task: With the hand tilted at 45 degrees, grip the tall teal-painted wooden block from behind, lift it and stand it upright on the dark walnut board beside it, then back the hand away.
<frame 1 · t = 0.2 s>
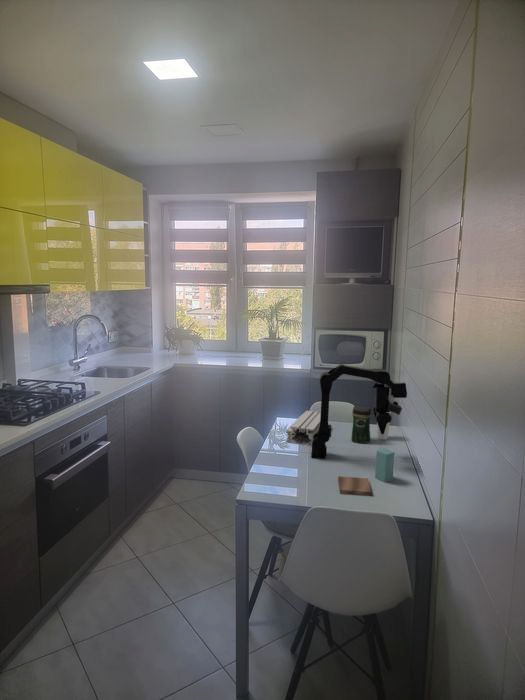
hand: (381, 430, 195), 14 cm above the table, tool pointing down, fingers open, 9 cm apart
walnut board: (354, 487, 170), on the table
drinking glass: (382, 438, 227), on the table
aluminum extrusion profile: (306, 435, 230), on the table
coffee jar: (360, 441, 222), on the table
teal block: (383, 478, 179), on the table
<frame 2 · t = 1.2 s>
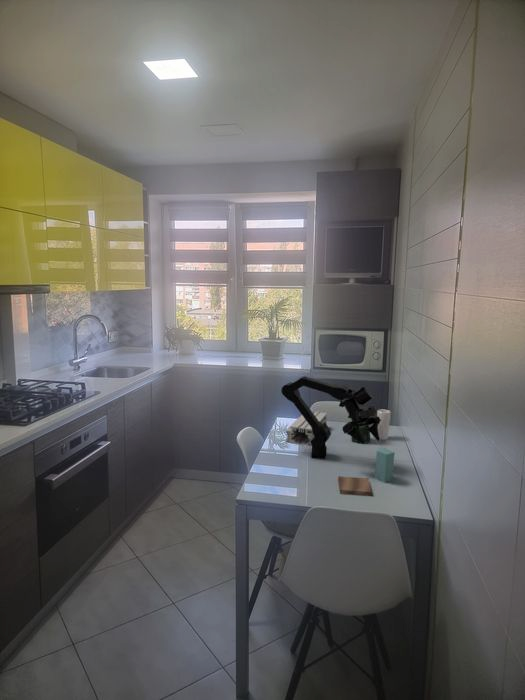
hand: (371, 442, 183), 13 cm above the table, tool tilted 45°, fingers open, 9 cm apart
nothing on the table moved.
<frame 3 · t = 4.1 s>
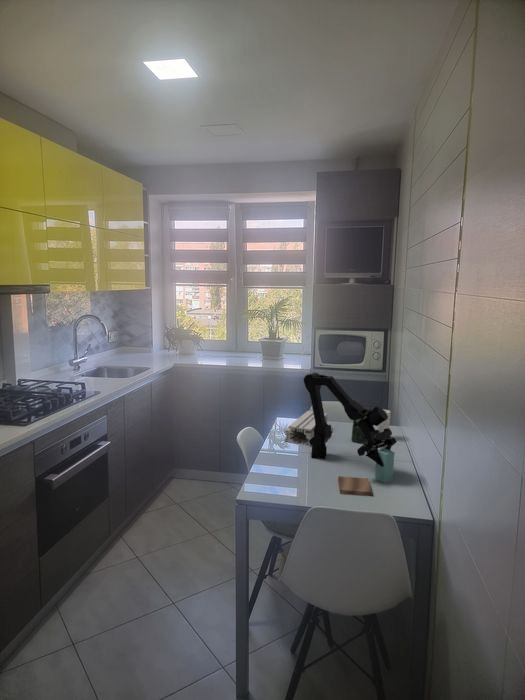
hand: (387, 465, 176), 7 cm above the table, tool tilted 45°, fingers closed on teal block, 5 cm apart
teal block: (383, 478, 179), on the table, touching gripper
everything else where it was.
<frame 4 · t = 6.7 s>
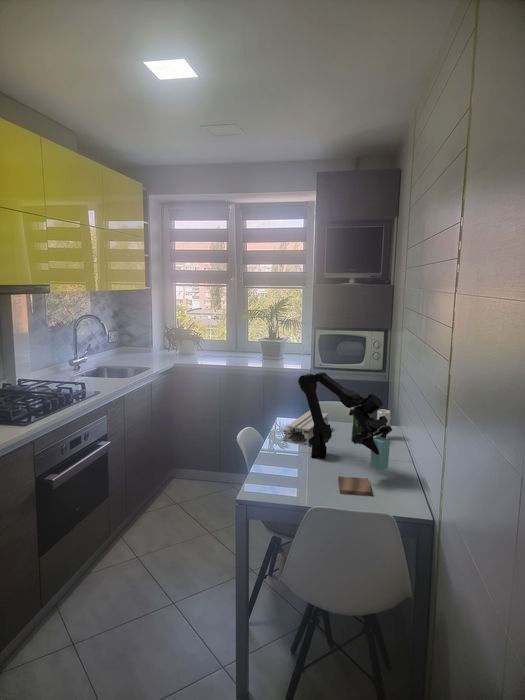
hand: (382, 453, 174), 12 cm above the table, tool tilted 45°, fingers closed on teal block, 5 cm apart
teal block: (379, 467, 176), point 6 cm above the table, touching gripper
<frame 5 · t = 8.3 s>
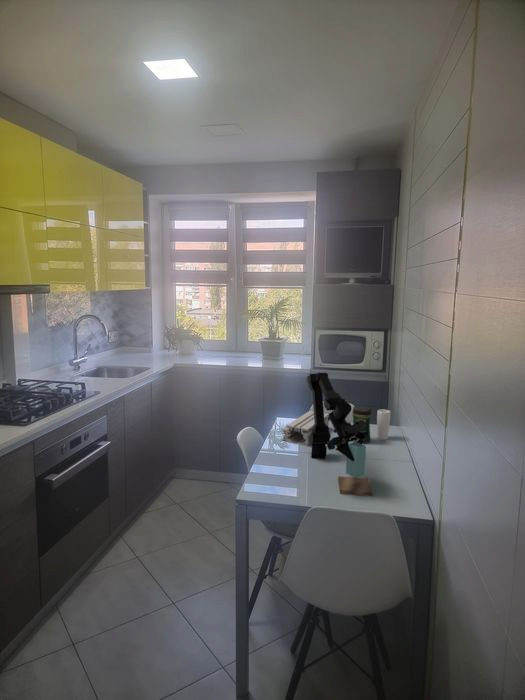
hand: (358, 459, 167), 12 cm above the table, tool tilted 45°, fingers closed on teal block, 5 cm apart
teal block: (354, 474, 169), point 6 cm above the table, touching gripper
when the fingers open (9 cm above the table, at t = 9.3 s): teal block stays where it is, resting on walnut board.
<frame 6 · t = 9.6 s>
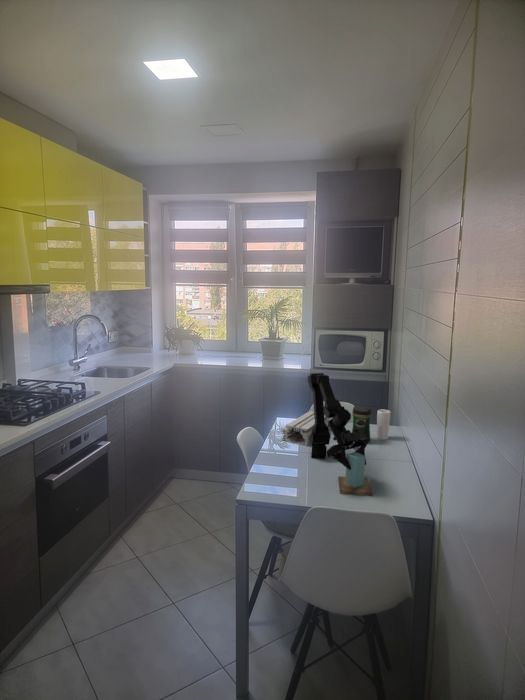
hand: (358, 467, 168), 9 cm above the table, tool tilted 45°, fingers open, 8 cm apart
teal block: (354, 483, 170), point 1 cm above the table, touching walnut board
everything else where it was.
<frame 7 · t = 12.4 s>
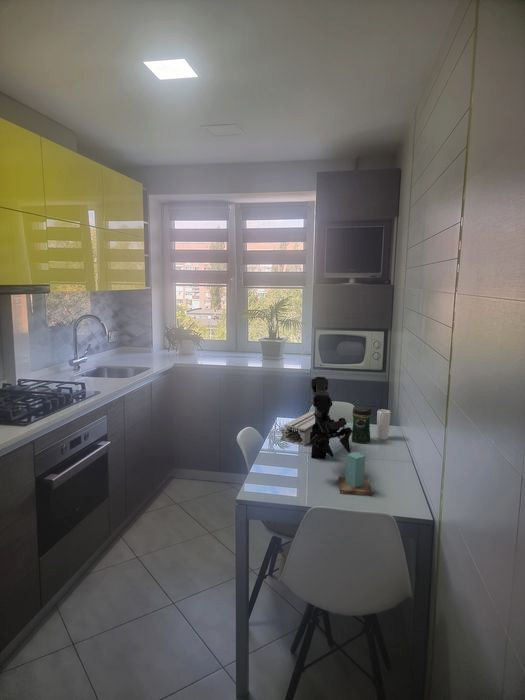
hand: (341, 454, 175), 11 cm above the table, tool tilted 45°, fingers open, 9 cm apart
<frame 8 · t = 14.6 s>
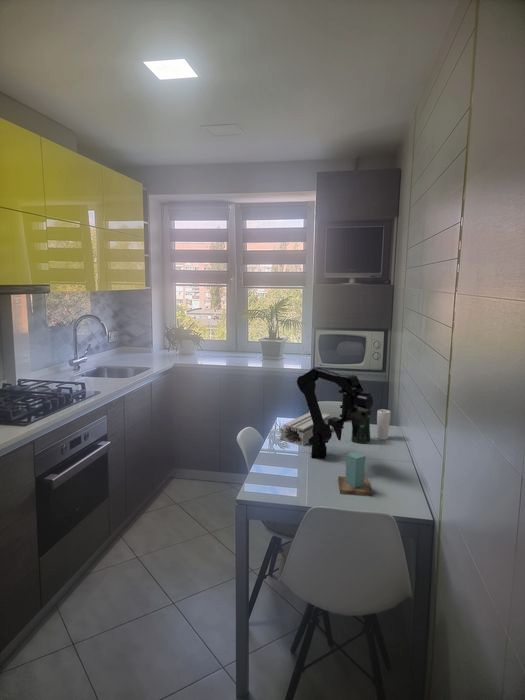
hand: (347, 438, 188), 13 cm above the table, tool pointing down, fingers open, 9 cm apart
at the end: teal block inside the target area on the walnut board (0.0 cm from its centre), point 1.5 cm above the walnut board's base; teal block tilted 0°; the gripper is holding nothing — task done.
